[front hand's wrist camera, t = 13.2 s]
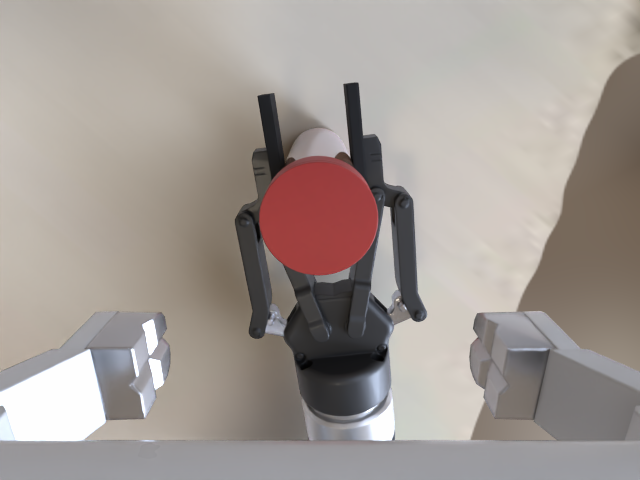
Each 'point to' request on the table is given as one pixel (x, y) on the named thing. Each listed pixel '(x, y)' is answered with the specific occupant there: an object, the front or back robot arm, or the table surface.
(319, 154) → the jar
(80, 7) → the table surface
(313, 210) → the lid
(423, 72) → the table surface
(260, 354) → the table surface
